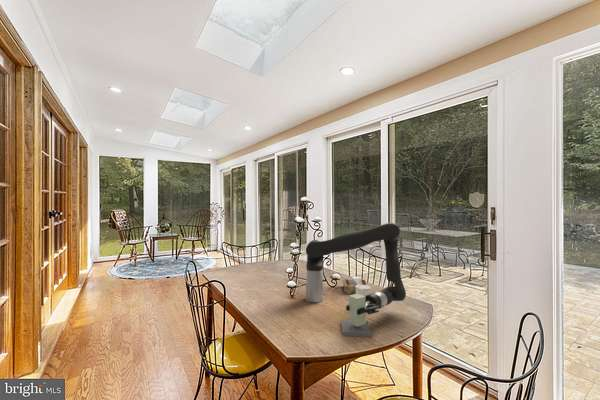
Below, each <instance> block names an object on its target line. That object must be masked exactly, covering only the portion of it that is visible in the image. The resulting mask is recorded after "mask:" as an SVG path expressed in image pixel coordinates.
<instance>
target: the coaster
mask: <svg viewBox="0 0 600 400" xmlns="http://www.w3.org/2000/svg"><path fill="white" fill-rule="evenodd" d="M340 324H341V326H340V327H341V332H342V336H343V337H368V338H370V337H371V338H372V337H373V333H372V330H371V327H370V325H369V321H368V320H366V324H364V325H361V326H358V327H357V326H355V325H353V324H351V323H349V320H344V319H342V320H340Z"/></svg>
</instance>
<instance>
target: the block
mask: <svg viewBox="0 0 600 400" xmlns="http://www.w3.org/2000/svg"><path fill="white" fill-rule="evenodd" d="M348 305H349V311H348V321H349V323H351V324H353V325H355V326H357V327H358V326H361V325H364V324H366V321H367V320H366V319H367V317H366V314H367V313H363V314H360V315H357V309H360V308H363V307H365V296H363V295H360V294H349V295H348Z"/></svg>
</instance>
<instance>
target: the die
mask: <svg viewBox="0 0 600 400" xmlns="http://www.w3.org/2000/svg"><path fill="white" fill-rule="evenodd" d="M350 279H351V280H349V281H348V282H349V285H350V286H356V285H363V284H362V281H361V279H362V278H361V277H357V276H355V275H354V276H353V277H352V278H350Z"/></svg>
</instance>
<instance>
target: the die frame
mask: <svg viewBox="0 0 600 400" xmlns="http://www.w3.org/2000/svg"><path fill="white" fill-rule="evenodd" d="M351 279H352V278H343V279H342V281H343V283H342V284H343V290H344V294H349V295H354V294H356V286H350V285H349V282H348V281H349V280H351ZM361 281H362V284H363V285H368V286H369V284H368V282H367V280H366V279H362V278H361Z"/></svg>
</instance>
